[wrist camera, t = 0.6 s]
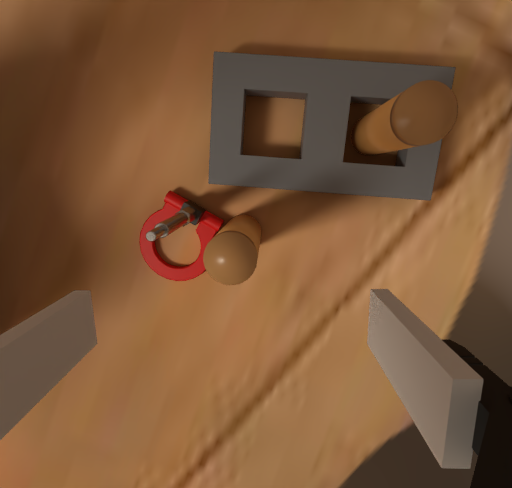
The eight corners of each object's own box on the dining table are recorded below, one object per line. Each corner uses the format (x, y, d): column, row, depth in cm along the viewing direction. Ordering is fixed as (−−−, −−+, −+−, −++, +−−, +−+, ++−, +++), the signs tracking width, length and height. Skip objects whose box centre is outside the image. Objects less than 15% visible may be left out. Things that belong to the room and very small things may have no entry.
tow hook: (196, 290, 38) (233, 222, 35) (154, 353, 25) (207, 255, 23) (132, 255, 37) (165, 184, 35) (57, 302, 25) (101, 197, 22)
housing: (212, 183, 34) (208, 183, 32) (218, 60, 32) (213, 51, 30) (418, 198, 34) (430, 200, 31) (441, 75, 31) (455, 67, 29)
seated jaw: (348, 154, 33) (390, 142, 22) (353, 113, 32) (400, 78, 21) (387, 156, 33) (451, 146, 21) (393, 116, 32) (463, 82, 21)
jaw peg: (224, 248, 36) (201, 282, 24) (226, 213, 35) (204, 230, 23) (259, 251, 36) (254, 287, 24) (263, 216, 35) (259, 235, 23)
